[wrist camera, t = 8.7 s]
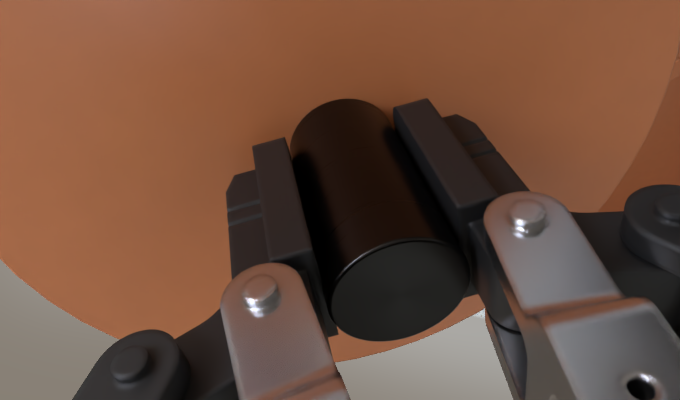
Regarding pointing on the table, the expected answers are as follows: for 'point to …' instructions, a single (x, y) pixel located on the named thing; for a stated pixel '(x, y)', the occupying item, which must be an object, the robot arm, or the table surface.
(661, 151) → the pot
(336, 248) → the pot lid
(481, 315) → the table surface
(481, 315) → the table surface
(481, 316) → the table surface
